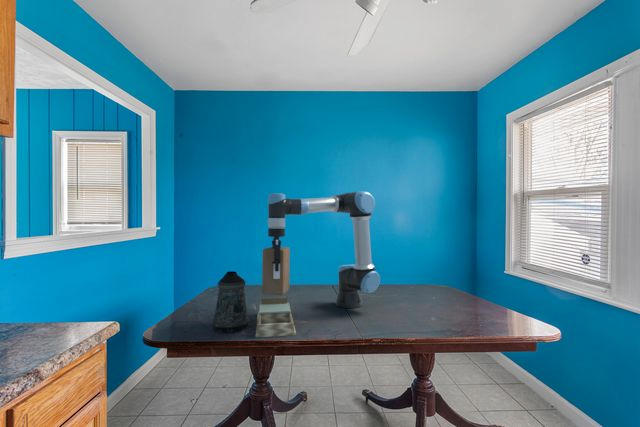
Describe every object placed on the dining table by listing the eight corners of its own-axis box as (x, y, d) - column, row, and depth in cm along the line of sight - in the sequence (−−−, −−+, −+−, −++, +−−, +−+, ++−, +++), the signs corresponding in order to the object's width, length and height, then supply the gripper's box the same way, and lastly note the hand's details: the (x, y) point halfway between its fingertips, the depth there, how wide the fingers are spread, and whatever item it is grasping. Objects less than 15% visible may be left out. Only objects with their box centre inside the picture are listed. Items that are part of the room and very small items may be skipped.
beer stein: (229, 337, 131) (230, 277, 131) (199, 327, 141) (200, 272, 141) (257, 325, 145) (257, 271, 145) (228, 318, 155) (228, 267, 155)
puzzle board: (290, 312, 164) (290, 303, 165) (296, 335, 133) (296, 323, 133) (257, 314, 162) (257, 304, 162) (255, 337, 130) (255, 325, 130)
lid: (288, 303, 162) (288, 296, 162) (290, 312, 147) (291, 304, 147) (259, 305, 159) (259, 297, 159) (259, 314, 145) (259, 305, 145)
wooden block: (283, 295, 134) (283, 249, 134) (261, 294, 136) (261, 248, 136) (289, 290, 144) (290, 247, 144) (269, 289, 145) (269, 246, 146)
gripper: (267, 226, 151) (267, 271, 151) (268, 228, 127) (267, 281, 127) (283, 226, 152) (283, 271, 152) (286, 228, 129) (286, 281, 128)
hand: (276, 276), depth 140 cm, fingers closed on wooden block, 12 cm apart
